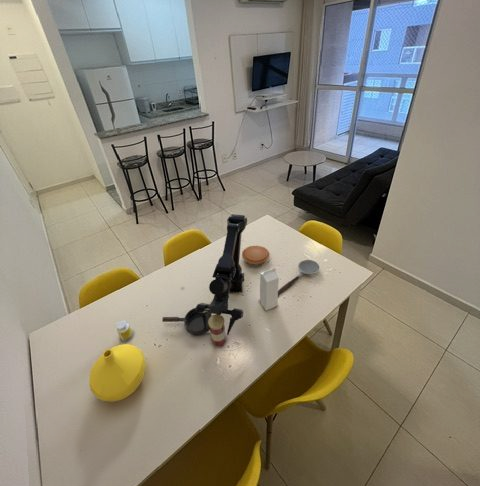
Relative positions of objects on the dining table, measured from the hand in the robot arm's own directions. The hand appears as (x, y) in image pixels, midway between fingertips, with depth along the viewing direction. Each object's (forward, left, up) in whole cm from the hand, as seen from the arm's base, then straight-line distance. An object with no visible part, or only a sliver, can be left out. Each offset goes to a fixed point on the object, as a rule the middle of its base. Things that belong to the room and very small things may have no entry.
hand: (216, 332), depth 103 cm
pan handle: (+20, -9, -4) cm, 22 cm away
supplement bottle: (+40, -3, -7) cm, 40 cm away
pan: (+9, -9, -7) cm, 15 cm away
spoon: (-37, -33, -7) cm, 50 cm away
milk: (-22, -19, -7) cm, 30 cm away
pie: (-17, -50, -7) cm, 54 cm away
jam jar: (0, -1, -7) cm, 7 cm away
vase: (+34, +15, -7) cm, 37 cm away
